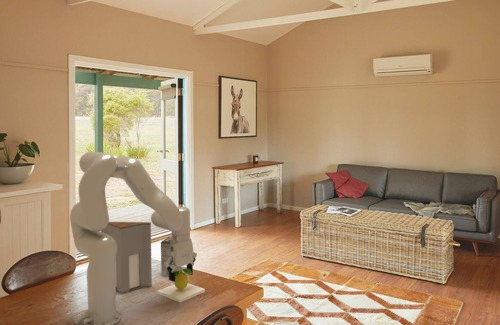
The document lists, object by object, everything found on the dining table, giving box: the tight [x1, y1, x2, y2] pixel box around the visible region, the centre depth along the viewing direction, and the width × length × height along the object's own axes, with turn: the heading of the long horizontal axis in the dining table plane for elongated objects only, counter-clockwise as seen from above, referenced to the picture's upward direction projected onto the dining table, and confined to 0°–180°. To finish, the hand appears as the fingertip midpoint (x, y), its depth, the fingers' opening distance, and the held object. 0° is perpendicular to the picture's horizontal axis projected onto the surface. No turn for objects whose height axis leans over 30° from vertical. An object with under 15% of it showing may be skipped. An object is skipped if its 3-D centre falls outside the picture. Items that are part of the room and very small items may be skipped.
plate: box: [156, 282, 206, 303], centre depth 180 cm, size 14×14×1 cm
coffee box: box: [160, 236, 182, 277], centre depth 202 cm, size 9×6×16 cm
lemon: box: [174, 267, 192, 290], centre depth 179 cm, size 7×6×10 cm
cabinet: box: [100, 221, 153, 295], centre depth 182 cm, size 21×10×28 cm, turn 88°
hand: (181, 277), depth 179 cm, fingers open, 9 cm apart
